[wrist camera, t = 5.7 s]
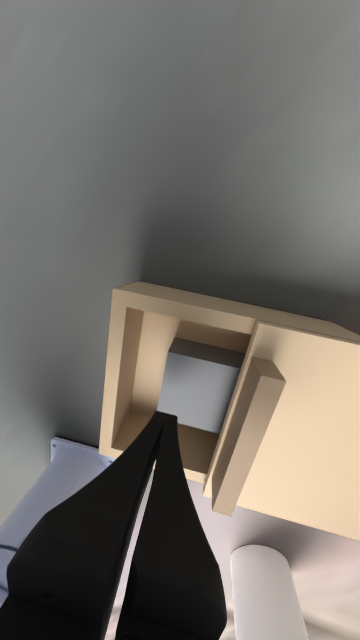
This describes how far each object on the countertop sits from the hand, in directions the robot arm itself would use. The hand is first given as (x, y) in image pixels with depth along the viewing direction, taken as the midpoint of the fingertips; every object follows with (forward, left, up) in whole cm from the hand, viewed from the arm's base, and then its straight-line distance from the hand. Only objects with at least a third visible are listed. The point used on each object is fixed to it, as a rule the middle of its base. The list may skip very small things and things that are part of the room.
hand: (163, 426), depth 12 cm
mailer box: (0, -3, -7) cm, 8 cm away
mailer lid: (0, -12, -2) cm, 12 cm away
